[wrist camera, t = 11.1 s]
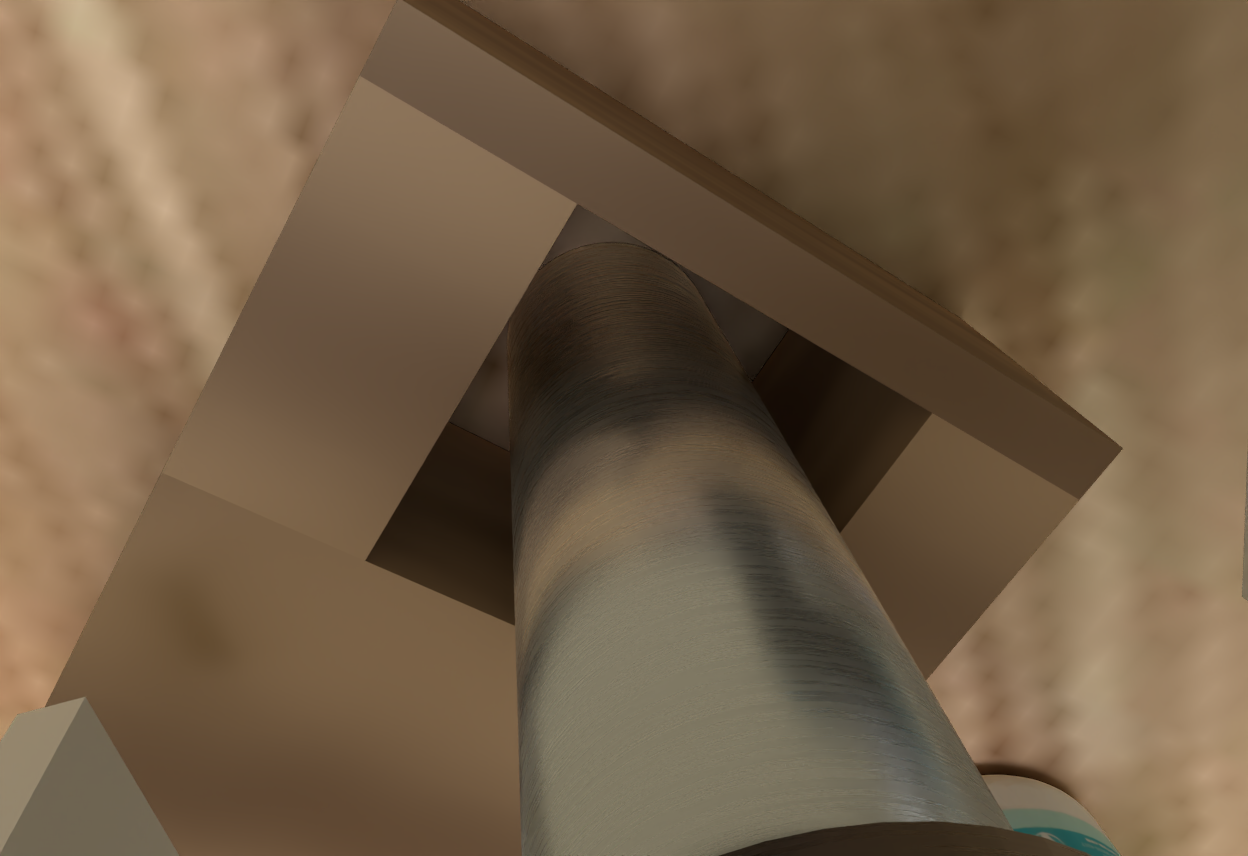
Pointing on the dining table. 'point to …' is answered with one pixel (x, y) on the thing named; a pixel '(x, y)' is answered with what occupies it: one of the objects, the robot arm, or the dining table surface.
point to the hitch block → (498, 458)
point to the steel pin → (700, 607)
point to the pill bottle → (1048, 814)
